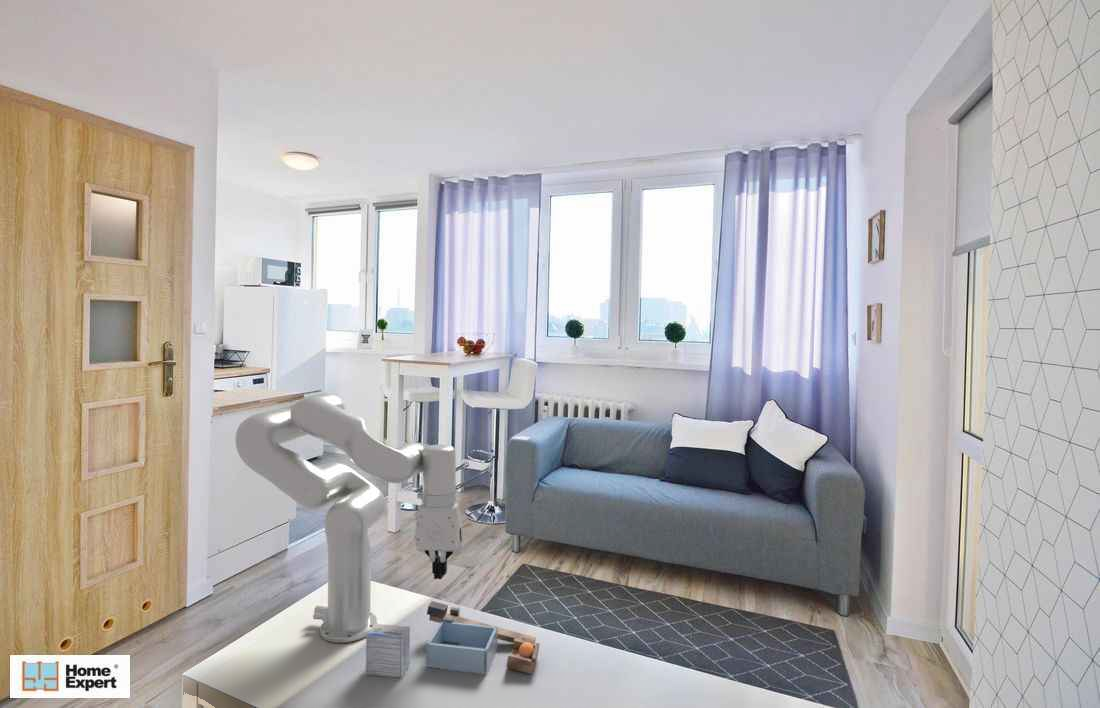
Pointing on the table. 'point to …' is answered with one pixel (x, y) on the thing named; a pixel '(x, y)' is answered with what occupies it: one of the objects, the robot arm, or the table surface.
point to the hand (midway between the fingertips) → (439, 576)
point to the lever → (514, 659)
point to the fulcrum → (449, 620)
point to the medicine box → (388, 650)
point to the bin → (462, 647)
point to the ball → (526, 650)
